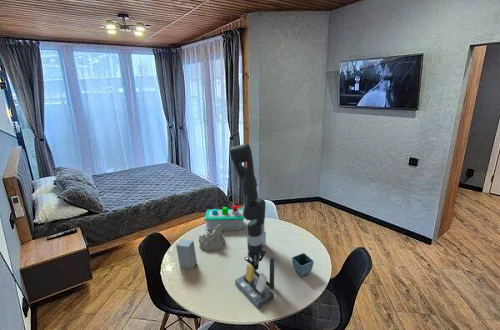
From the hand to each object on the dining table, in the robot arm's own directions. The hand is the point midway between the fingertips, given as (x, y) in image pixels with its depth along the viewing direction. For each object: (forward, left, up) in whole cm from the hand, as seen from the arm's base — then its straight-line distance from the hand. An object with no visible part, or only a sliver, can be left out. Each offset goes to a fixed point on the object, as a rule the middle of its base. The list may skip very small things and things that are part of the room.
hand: (255, 269), depth 140 cm
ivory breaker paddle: (+4, +9, -5) cm, 11 cm away
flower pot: (-26, +9, -9) cm, 29 cm away
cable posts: (-5, 0, -9) cm, 10 cm away
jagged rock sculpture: (+1, -47, -9) cm, 48 cm away
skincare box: (+23, -36, -9) cm, 44 cm away
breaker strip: (+4, +4, -9) cm, 11 cm away
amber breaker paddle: (+4, 0, -5) cm, 7 cm away
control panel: (-17, -60, -9) cm, 64 cm away
